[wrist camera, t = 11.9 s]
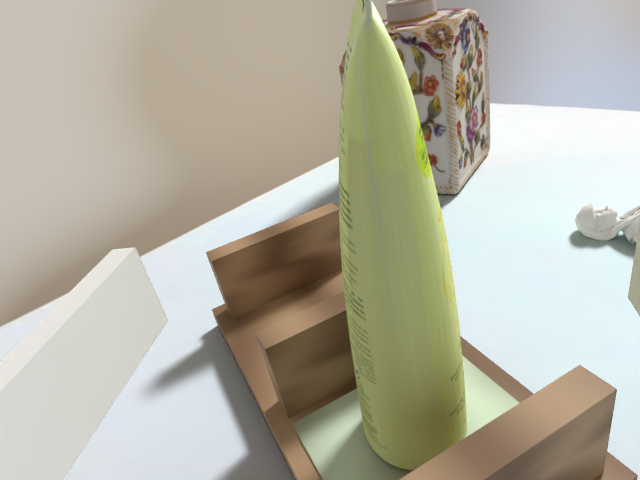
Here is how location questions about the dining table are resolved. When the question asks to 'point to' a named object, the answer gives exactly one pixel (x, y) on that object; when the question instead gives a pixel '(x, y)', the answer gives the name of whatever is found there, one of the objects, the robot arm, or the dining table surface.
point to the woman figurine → (607, 223)
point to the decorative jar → (445, 84)
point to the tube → (395, 259)
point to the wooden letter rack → (340, 382)
